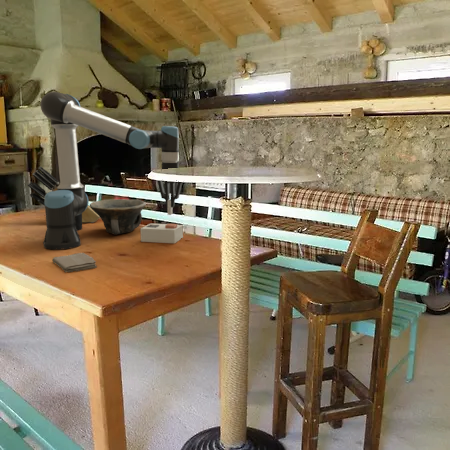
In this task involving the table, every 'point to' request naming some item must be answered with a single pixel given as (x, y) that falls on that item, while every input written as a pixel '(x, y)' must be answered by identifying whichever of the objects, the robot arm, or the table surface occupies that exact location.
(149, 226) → the grey metal cube
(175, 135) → the robot arm
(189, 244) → the table surface
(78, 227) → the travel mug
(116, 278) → the table surface
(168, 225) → the pink cube
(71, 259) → the washcloth
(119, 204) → the bowl
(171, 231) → the block
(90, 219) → the knife block
